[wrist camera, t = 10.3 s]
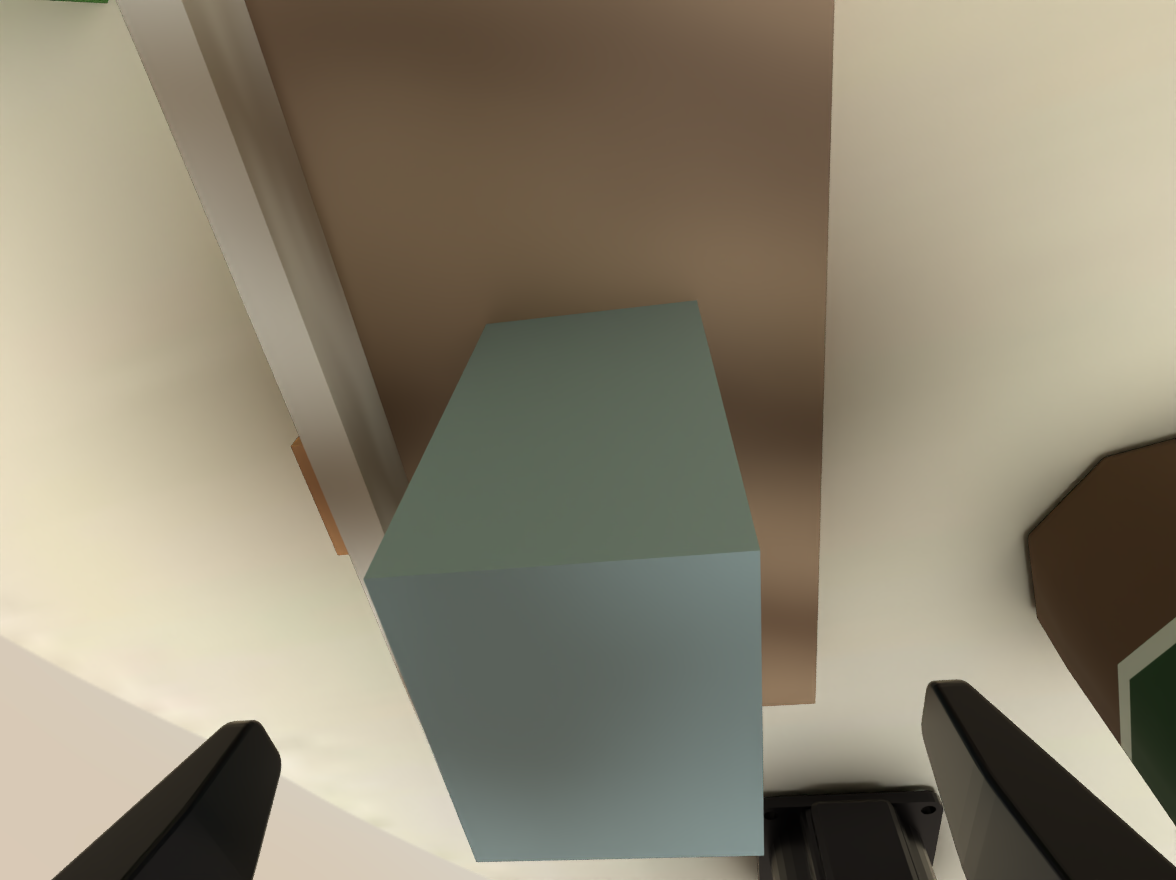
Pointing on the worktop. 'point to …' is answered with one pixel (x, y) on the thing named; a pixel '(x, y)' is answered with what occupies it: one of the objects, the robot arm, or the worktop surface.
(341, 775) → the worktop surface
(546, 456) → the product carton
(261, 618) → the worktop surface
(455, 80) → the shelf board
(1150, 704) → the beer bottle
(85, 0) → the hardback book
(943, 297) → the worktop surface
